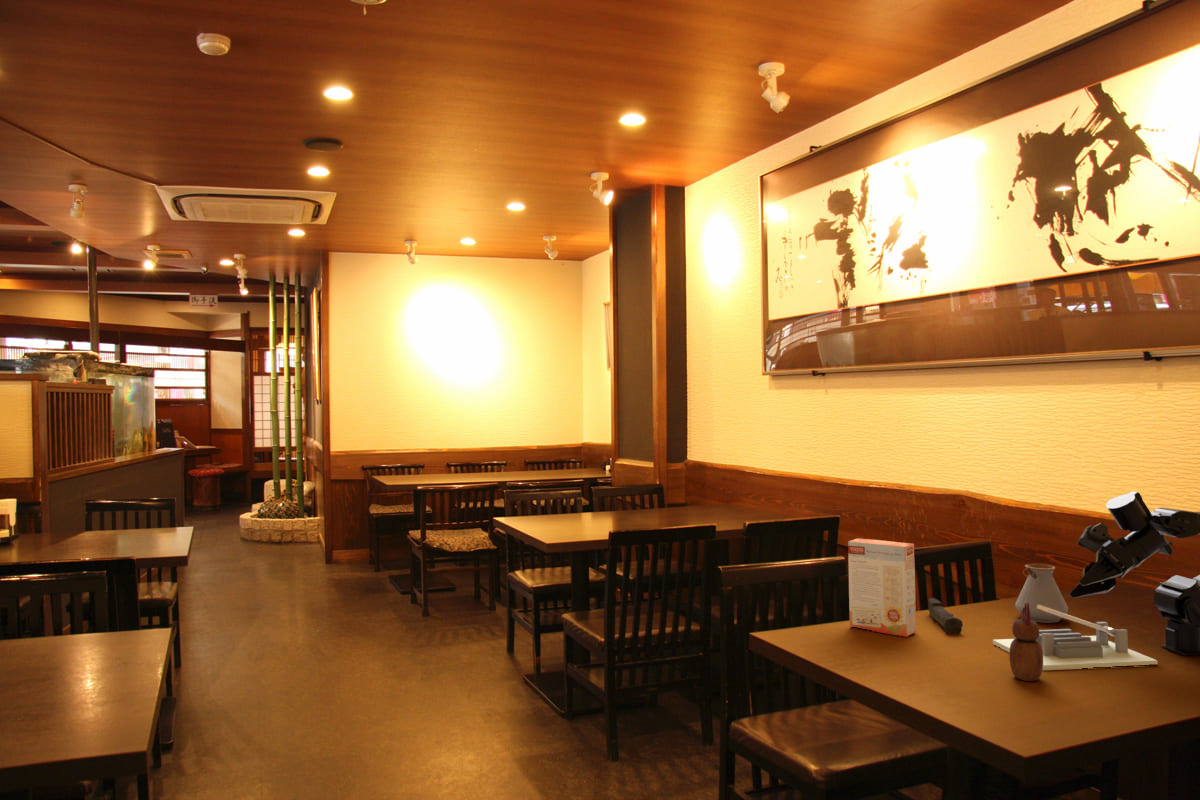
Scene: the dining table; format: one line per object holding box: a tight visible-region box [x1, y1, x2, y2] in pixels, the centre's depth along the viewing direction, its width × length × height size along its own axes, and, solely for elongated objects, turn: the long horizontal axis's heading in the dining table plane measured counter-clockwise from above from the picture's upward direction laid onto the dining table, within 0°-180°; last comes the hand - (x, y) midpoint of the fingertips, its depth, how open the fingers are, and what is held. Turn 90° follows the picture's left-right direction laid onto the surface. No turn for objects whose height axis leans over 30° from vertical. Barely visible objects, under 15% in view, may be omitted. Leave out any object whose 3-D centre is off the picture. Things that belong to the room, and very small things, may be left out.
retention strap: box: [1037, 605, 1116, 638], centre depth 172 cm, size 17×4×2 cm, turn 94°
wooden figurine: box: [1008, 603, 1043, 682], centre depth 158 cm, size 7×6×15 cm
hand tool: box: [927, 597, 963, 635], centre depth 198 cm, size 19×4×5 cm, turn 171°
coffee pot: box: [1014, 563, 1069, 624], centre depth 196 cm, size 21×12×15 cm, turn 142°
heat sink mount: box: [992, 621, 1158, 671], centre depth 172 cm, size 24×18×6 cm
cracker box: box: [847, 538, 917, 638], centre depth 192 cm, size 14×6×21 cm, turn 47°
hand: (1075, 590), depth 172 cm, fingers open, 9 cm apart
